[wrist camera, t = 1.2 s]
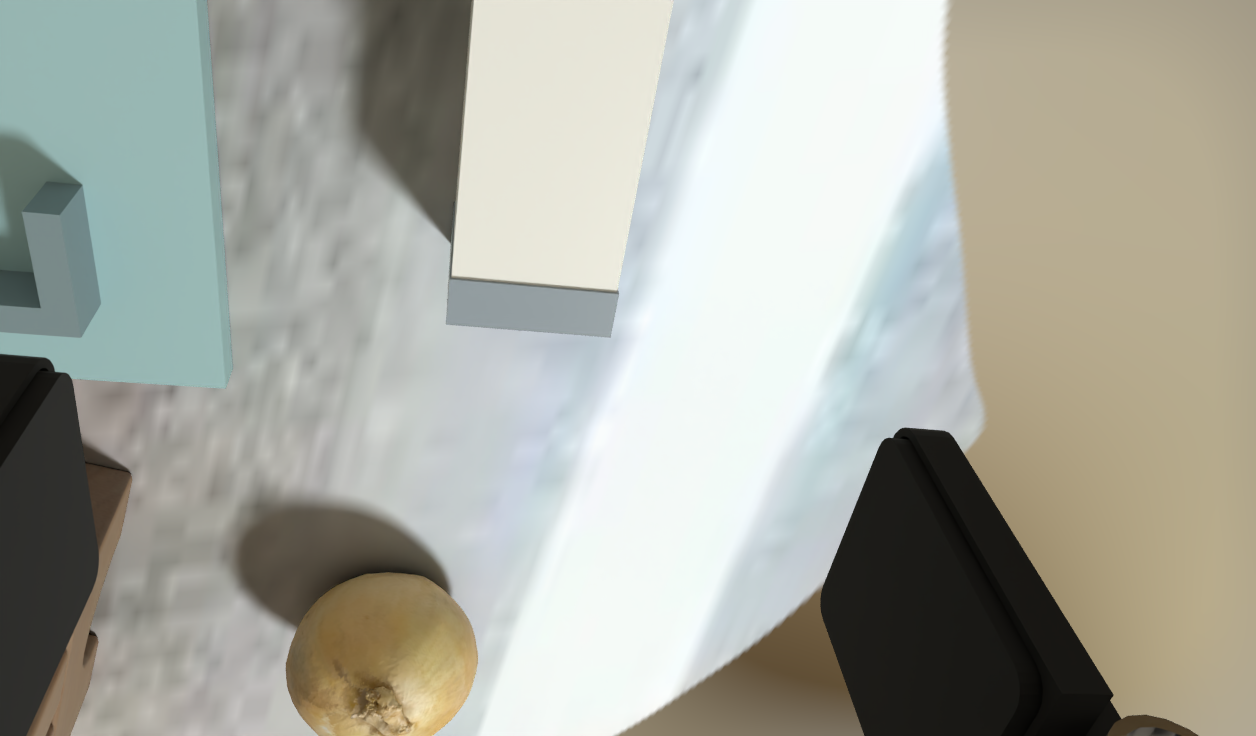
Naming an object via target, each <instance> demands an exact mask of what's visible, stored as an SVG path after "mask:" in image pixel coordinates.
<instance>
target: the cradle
mask: <svg viewBox="0 0 1256 736" xmlns="http://www.w3.org/2000/svg"><path fill="white" fill-rule="evenodd" d="M0 354H8V355H21V356H33V357H45V358H47V359H49V360H50V361H51V362H52V364H53V366H54V369H55V372H63V373H67V374H69V375H70V377H71V379H84V380H100V381H115V382H131V383H147V384H162V385H178V386H193V387H209V388H225V389H226V387H227V384H228V381H229V378H230V375H231V372H232V370H233V365H232V350H231V336H230V322H229V308H228V293H227V279H226V265H225V251H224V236H223V222H222V208H221V193H220V179H219V165H218V151H217V136H216V122H215V108H214V94H213V79H212V65H211V51H210V37H209V22H208V8H207V0H0Z"/></svg>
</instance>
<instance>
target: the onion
mask: <svg viewBox="0 0 1256 736" xmlns="http://www.w3.org/2000/svg"><path fill="white" fill-rule="evenodd" d="M477 664H478V652H477V647H476V640H475V636H474V632H473V629H472V626H471V624H470V621H469V619H468V618H467V616H466V615H465V613H464V611H463V610H462V609H461V608H460V606H459V605H458V604H457V603H456V602H455V600H454V599H452V598H451V596H450V595H448V594H447V593H446V591H444V590H443V589H442V588H441V587H439V586H438V585H436V584H435V583H434V582H432V581H430V580H429V579H427V578H426V577H423V576H420V575H410V574H403V573H391V572H386V573H374V574H364V575H362V576H358V577H356V578H353V579H350V580H348V581H346V582H343V583H341V584H340V585H339V584H338V585H336V586H335V587H334V588H332V589H331V590H329V591H328V592H326V593H325V594H324V595H323V596H321V597H320V598H319V599H318V600H317V601H316V602H315V603H314V604H313V606H312V607H311V608H310V609H309V611H308V612H307V613H306V614H305V616H304V617H303V619H302V621H301V623H300V625H299V627H298V629H297V631H296V633H295V636H294V638H293V641H292V643H291V646H290V650H289V654H288V658H287V662H286V679H287V687H288V691H289V694H290V696H291V699H292V702H293V704H294V706H295V707H296V709H297V711H298V713H299V714H300V716H301V717H302V718H303V719H304V721H305V722H306V723H307V724H308V725H309V726H310V727H311V728H312V729H313V730H314V731H315V732H316V733H317V734H318V735H319V736H432V735H434V734H435V733H436V732H438V731H439V730H440V729H441V728H442V727H444V726H445V725H446V724H447V723H448V722H449V721H451V720H452V718H453V717H454V716H455V715H456V713H457V712H458V711H459V710H460V708H461V707H462V706H463V704H464V702H465V701H466V699H467V697H468V695H469V693H470V690H471V688H472V684H473V681H474V678H475V674H476V669H477Z"/></svg>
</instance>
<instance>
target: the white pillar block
mask: <svg viewBox="0 0 1256 736" xmlns="http://www.w3.org/2000/svg"><path fill="white" fill-rule="evenodd" d="M673 1H674V0H472V3H471V15H470V28H469V41H468V53H467V66H466V78H465V91H464V103H463V116H462V128H461V141H460V153H459V166H458V178H457V191H456V202H454V210H453V222H452V235H451V249H450V266H449V282H448V299H447V316H446V325H459V326H471V327H484V328H496V329H509V330H522V331H534V332H547V333H559V334H572V335H585V336H597V337H611V332H612V327H613V322H614V317H615V312H616V307H617V302H618V297H619V292H618V285H619V279H620V274H621V269H622V264H623V259H624V254H625V249H626V243H627V238H628V233H629V228H630V223H631V218H632V212H633V207H634V202H635V197H636V192H637V187H638V182H639V176H640V171H641V166H642V161H643V156H644V151H645V145H646V140H647V135H648V130H649V125H650V120H651V115H652V109H653V104H654V99H655V94H656V89H657V84H658V78H659V73H660V68H661V63H662V58H663V53H664V48H665V42H666V37H667V32H668V27H669V22H670V17H671V11H672V6H673Z"/></svg>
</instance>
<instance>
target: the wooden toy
mask: <svg viewBox="0 0 1256 736" xmlns="http://www.w3.org/2000/svg"><path fill="white" fill-rule="evenodd" d="M85 466H86V472H87V479H88V485H89V492H90V498H91V505H92V511H93V518H94V524H95V531H96V537H97V544H98V550H99V568H98V574H97V578H96V582H95V585H94V587H93V590H92V592H91V594H90V597H89V599H88V601H87V603H86V605H85V608H84V610H83V612H82V614H81V616H80V619H79V621H78V623H77V625H76V627H75V630H74V632H73V634H72V636H71V638H70V641H69V643H68V645H67V647H66V649H65V652H64V654H63V656H62V658H61V660H60V663H59V665H58V667H57V669H56V671H55V674H54V676H53V678H52V680H51V682H50V685H49V687H48V689H47V691H46V693H45V696H44V698H43V700H42V702H41V704H40V707H39V709H38V711H37V713H36V715H35V717H34V720H33V722H32V724H31V726H30V728H29V731H28V733H27V735H26V736H70V735H71V732H72V729H73V727H74V724H75V722H76V719H77V716H78V714H79V711H80V708H81V706H82V703H83V701H84V698H85V695H86V693H87V690H88V688H89V684H90V680H91V675H92V670H93V665H94V660H95V656H96V651H97V646H98V638H97V637H96V636H94V635H89V630H90V626H91V623H92V619H93V616H94V613H95V609H96V606H97V602H98V599H99V596H100V592H101V589H102V586H103V583H104V580H105V577H106V574H107V571H108V568H109V565H110V562H111V559H112V557H113V554H114V551H115V549H116V546H117V544H118V541H119V538H120V536H121V531H122V526H123V522H124V517H125V512H126V507H127V503H128V498H129V493H130V488H131V483H132V476H131V474H130V473H129V472H126V471H121V470H117V469H112V468H107V467H103V466H98V465H93V464H88V463H85Z"/></svg>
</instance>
